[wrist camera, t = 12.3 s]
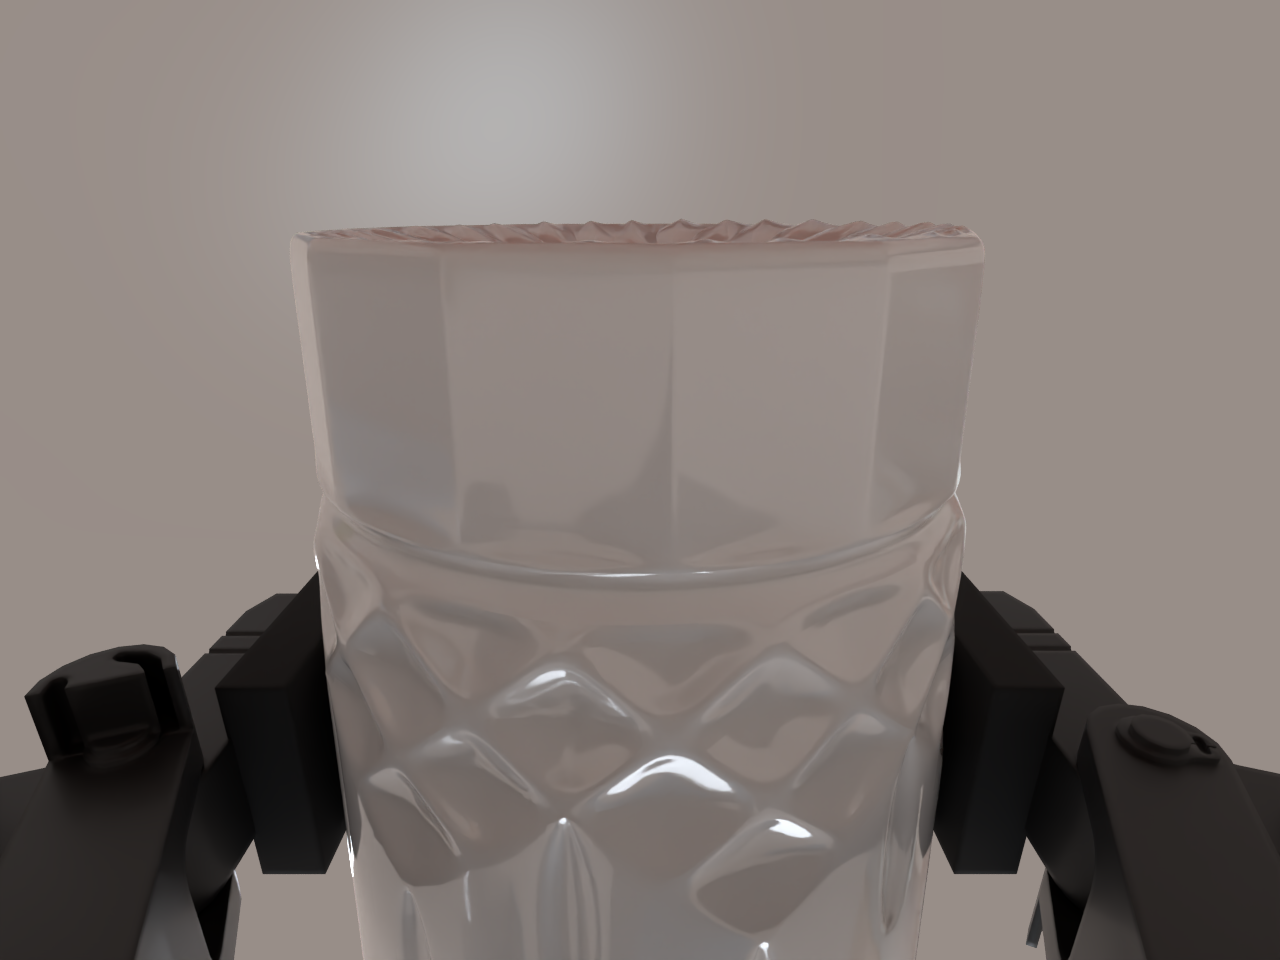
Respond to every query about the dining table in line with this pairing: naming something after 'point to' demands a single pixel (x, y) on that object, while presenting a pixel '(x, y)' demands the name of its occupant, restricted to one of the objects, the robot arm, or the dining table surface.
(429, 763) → the white cup
